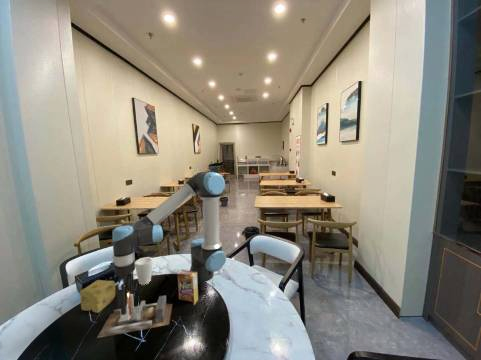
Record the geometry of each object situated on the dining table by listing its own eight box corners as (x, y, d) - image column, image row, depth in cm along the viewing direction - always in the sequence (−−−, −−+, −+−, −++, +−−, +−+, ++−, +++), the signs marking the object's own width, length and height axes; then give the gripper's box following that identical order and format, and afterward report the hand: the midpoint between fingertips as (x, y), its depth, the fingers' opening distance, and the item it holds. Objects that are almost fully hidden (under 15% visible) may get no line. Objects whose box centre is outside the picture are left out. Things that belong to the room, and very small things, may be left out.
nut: (151, 315, 90) (158, 308, 91) (149, 322, 86) (157, 315, 87) (145, 309, 89) (152, 303, 90) (143, 316, 85) (150, 309, 86)
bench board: (172, 306, 96) (171, 291, 96) (169, 327, 84) (168, 311, 83) (110, 317, 91) (109, 301, 90) (97, 341, 78) (95, 323, 77)
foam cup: (133, 282, 117) (132, 261, 116) (149, 275, 124) (148, 255, 123) (140, 288, 111) (139, 266, 110) (156, 281, 118) (155, 260, 117)
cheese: (98, 313, 93) (96, 293, 92) (79, 310, 95) (78, 290, 94) (116, 298, 103) (115, 280, 102) (99, 296, 105) (97, 278, 105)
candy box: (178, 302, 99) (177, 273, 98) (183, 296, 103) (182, 268, 102) (194, 305, 97) (192, 275, 95) (198, 300, 101) (197, 271, 100)
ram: (145, 310, 91) (144, 285, 90) (141, 324, 84) (139, 296, 83) (124, 314, 89) (122, 288, 88) (117, 328, 82) (115, 300, 81)
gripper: (122, 254, 93) (125, 301, 94) (104, 276, 74) (108, 334, 76) (140, 252, 94) (142, 298, 96) (126, 273, 76) (130, 330, 77)
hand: (127, 314), depth 86 cm, fingers open, 6 cm apart
